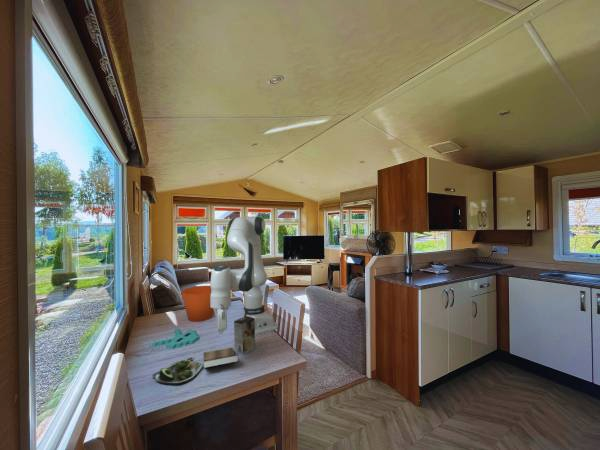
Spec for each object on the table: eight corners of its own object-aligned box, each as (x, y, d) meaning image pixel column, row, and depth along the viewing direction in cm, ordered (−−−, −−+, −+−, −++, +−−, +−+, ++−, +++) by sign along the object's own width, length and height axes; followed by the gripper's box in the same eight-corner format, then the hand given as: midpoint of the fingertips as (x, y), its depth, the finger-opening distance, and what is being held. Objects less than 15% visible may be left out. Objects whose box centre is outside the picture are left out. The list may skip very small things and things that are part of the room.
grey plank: (235, 360, 122) (234, 356, 122) (237, 361, 114) (237, 356, 115) (204, 366, 116) (203, 361, 117) (204, 367, 109) (204, 362, 110)
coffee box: (246, 345, 138) (246, 315, 138) (255, 347, 135) (255, 317, 135) (233, 352, 130) (233, 320, 130) (242, 355, 127) (242, 323, 127)
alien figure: (151, 347, 137) (184, 350, 133) (151, 343, 137) (184, 346, 133) (176, 332, 156) (205, 334, 152) (176, 328, 156) (205, 331, 152)
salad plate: (176, 359, 124) (176, 350, 124) (210, 362, 121) (210, 353, 121) (146, 384, 105) (146, 372, 105) (185, 388, 102) (185, 376, 102)
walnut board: (232, 351, 131) (232, 347, 131) (234, 359, 123) (234, 355, 123) (203, 356, 126) (203, 352, 126) (203, 365, 118) (203, 361, 118)
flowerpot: (211, 324, 168) (211, 294, 168) (174, 324, 168) (174, 294, 168) (223, 311, 193) (223, 285, 193) (190, 311, 193) (190, 285, 193)
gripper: (230, 308, 105) (230, 341, 105) (225, 295, 124) (225, 324, 124) (214, 309, 103) (214, 344, 103) (212, 296, 122) (212, 325, 122)
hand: (220, 332), depth 113 cm, fingers closed
